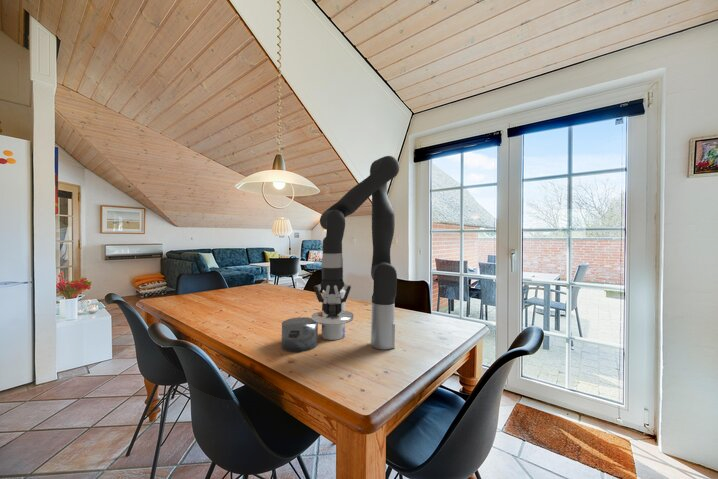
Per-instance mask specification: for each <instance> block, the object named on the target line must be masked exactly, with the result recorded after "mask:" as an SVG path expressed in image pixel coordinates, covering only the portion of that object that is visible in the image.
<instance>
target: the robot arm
mask: <svg viewBox="0 0 718 479" xmlns="http://www.w3.org/2000/svg"><path fill="white" fill-rule="evenodd" d="M399 172H400V162H399V161H398V159H397V158H396V157H394V156H393V155H386V156H383V157H380V158H377V159H375V160H374V161H373V162H372V163H371V165H370V169H369V175H368V176H367V177H366V178H364V179H363V180H361V181H360V182H359V183H357V184H356V185H354V186H353V187H352V188H351V189H349V190H348V191H347V192H346V193H345V194H344V195H343V196H342V197H341V198H340V199H339V200H338V201H336V202H335V203H333V205H331V206H330V207H329V208H327V209H326V210H325V211H324V212H323V213H322V214H321V216H320V218H319V223H320V224H319V225H320V226H321V228H322V229H324V230H326V234H325V235H326V236H325V237H324V238H323V240H322V257H321V282H320V284H317V285H314V286H313V290H314V294H315V296H316V299H317V300H318V302H319V303H321V304H322V303H323V304H324V313H326V314H328V297H329V295H330V294H334V295H336V298H337V302H338V303H337V314H340V313H341V310H342V303H343V302H345V303H346V302H347V299H348V297H349V294H350V291H351V289H352V285H351V284H345V282H344V258H343V239H344V236H345V235H344V234H345V227H346V217H349V216H350V215H353V214H354V213H355V212H356V211H357V210H358V209H359V208H360V207H361V206H362V205H363V204H364V203H365V202H366V201H367V200H368V199H369V198H370V197H371V238H372V240H371V242H372V260H371V268H370V276H371V279H372V280H373V288H372V290H373V292H372V296H371V318H370V320H371V321H370V322H371V325H370V326H371V328H370V329H371V331H370V345H371V347H373V348H374V349H376V350H390V349H395V347H396V346H395V344H396V343H395V341H396V339H395V338H396V324H395V323H396V322H395V314H396V312H395V307H396V306H395V305H396V304H395V303H396V302H395V301H396V297H397V285H398V276H397V270H396V268H395V266H393V265H392V263H391V247H392V243H393V239H394V234H395V216H396V215H395V211H394V209H393V206H392V203H391V201H390V199H389V196H388V182H390V181H391V180H393V179H394V178H396V177H397V176H398V174H399ZM343 288H344V289H343ZM341 289H343V290H345V295H344V298H342V299H341V295H340V291H341ZM323 290H324V291H325V297H324V298H322V292H321V291H323Z"/></svg>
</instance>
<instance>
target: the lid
mask: <svg viewBox="0 0 718 479" xmlns="http://www.w3.org/2000/svg"><path fill="white" fill-rule="evenodd" d="M354 317H355V316H354V313H353V312H352V311H349V310H345V311H344V310H341V313H340V314H337V303H329V304H328V314H326V313H324V311H322V310H320V311H316V312H314V313H313V314H312V315H311V318H312V321H313V322H314V323H317V324H318V325H321V326H322V325H339V324H345V325H346V324H348V323H350V322H352V321H353V320H354Z"/></svg>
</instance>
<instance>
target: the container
mask: <svg viewBox="0 0 718 479" xmlns="http://www.w3.org/2000/svg"><path fill="white" fill-rule="evenodd" d="M321 291H322V292H321V295H322V298H324V297H325V291H324V290H323V289H322V290H321ZM345 293H346V291H345V290H344V289H343V288H342V289H341V291H340V295H341V299H342V298H344V295H345ZM329 303H338V302H337V298H336V295H334V294H330V295H329V297H328V304H329ZM321 306H322V307H321V311H324V304H323V303H322V302H321ZM342 310H344V311H346V302H343V303H342ZM345 328H346V323H345V324H339V325H322V324H321V338H322V339H324V340H330V341H336V340H337V341H338V340H341V339H343V338H344V337H345V335H346V334H345V332H346V331H345V330H346V329H345Z"/></svg>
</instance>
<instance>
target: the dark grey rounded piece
mask: <svg viewBox="0 0 718 479" xmlns="http://www.w3.org/2000/svg"><path fill="white" fill-rule="evenodd" d="M318 328H319V324H317V323H314V322H313V321H312V317H307V316H306V317H305V316H304V317H292V318H288V319H285V320H283V321H282V322H281V348H282V350H284V351H286V352H291V353H304V352H308V351H311V350H314V349H315V348H316V347H318V340H319V339H318V338H319V336H318V334H319V333H318V331H319V329H318Z"/></svg>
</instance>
